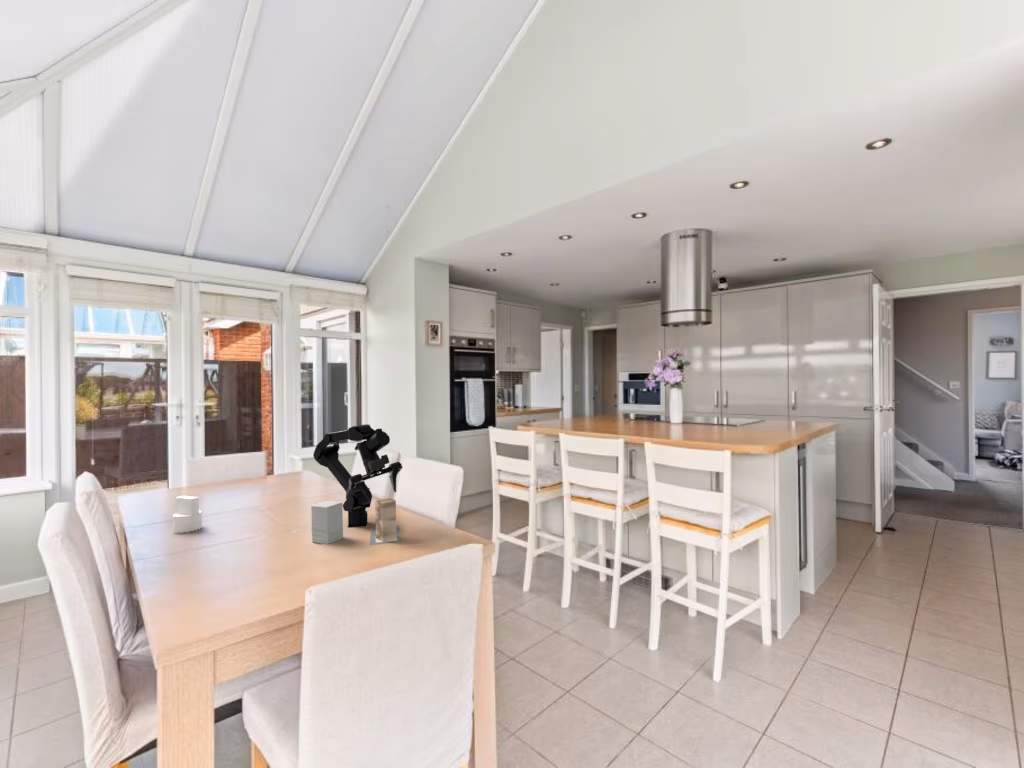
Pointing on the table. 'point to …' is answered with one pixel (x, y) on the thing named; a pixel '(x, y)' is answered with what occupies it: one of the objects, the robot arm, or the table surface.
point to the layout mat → (376, 541)
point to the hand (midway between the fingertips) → (383, 496)
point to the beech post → (385, 519)
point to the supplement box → (327, 522)
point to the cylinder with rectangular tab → (187, 514)
